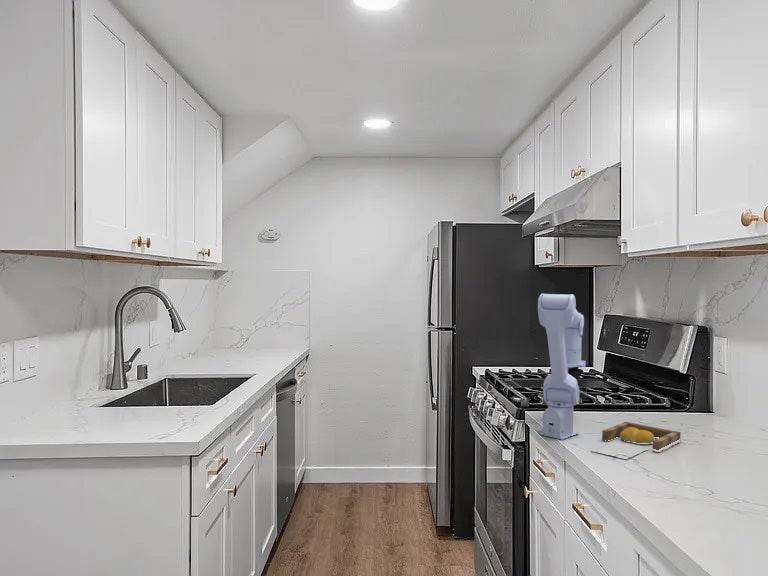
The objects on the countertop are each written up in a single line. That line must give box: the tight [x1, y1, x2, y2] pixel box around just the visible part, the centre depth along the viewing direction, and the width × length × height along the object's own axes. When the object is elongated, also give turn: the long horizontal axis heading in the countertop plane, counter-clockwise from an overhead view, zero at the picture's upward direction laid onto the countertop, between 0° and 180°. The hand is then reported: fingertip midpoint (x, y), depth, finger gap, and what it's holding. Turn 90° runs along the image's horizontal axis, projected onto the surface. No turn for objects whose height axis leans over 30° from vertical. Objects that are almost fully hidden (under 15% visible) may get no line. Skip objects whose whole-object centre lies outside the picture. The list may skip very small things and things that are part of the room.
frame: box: [601, 421, 681, 450], centre depth 178 cm, size 15×16×3 cm
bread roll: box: [619, 427, 655, 443], centre depth 178 cm, size 8×9×4 cm
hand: (571, 391), depth 199 cm, fingers closed
